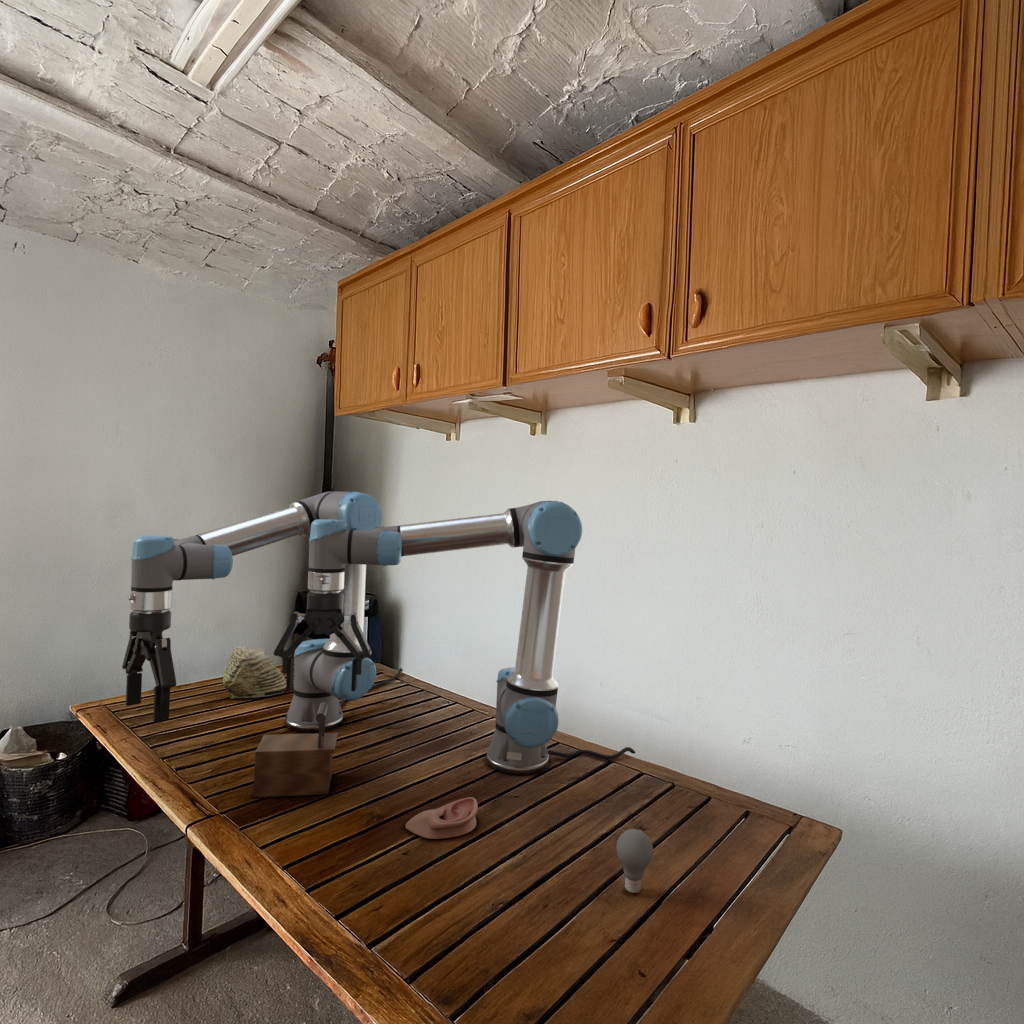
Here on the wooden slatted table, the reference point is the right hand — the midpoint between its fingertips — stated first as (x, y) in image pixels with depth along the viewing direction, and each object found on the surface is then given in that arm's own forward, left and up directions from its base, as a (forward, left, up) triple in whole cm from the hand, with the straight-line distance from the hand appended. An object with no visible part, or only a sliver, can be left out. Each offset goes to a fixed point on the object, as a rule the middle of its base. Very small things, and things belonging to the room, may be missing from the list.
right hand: (321, 688), depth 137 cm
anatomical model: (-22, +22, -22) cm, 38 cm away
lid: (+4, -3, -13) cm, 14 cm away
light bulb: (-48, +51, -22) cm, 73 cm away
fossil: (+16, -70, -22) cm, 75 cm away
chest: (+5, -3, -22) cm, 22 cm away
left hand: (+34, -7, -5) cm, 35 cm away
